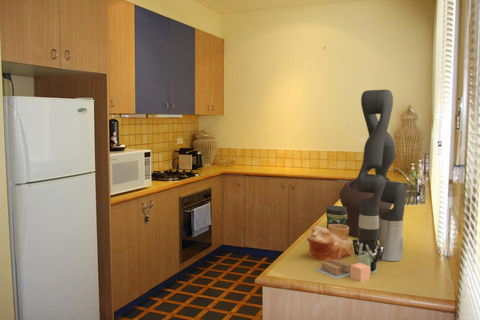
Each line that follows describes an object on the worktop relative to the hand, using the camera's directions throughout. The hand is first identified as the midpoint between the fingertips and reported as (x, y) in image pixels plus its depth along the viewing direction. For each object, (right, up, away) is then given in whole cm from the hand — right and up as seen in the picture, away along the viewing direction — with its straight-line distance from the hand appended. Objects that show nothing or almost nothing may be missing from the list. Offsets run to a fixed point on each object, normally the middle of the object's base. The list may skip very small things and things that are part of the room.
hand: (367, 268), depth 177 cm
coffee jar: (-4, +2, +39) cm, 40 cm away
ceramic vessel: (-11, 0, +19) cm, 22 cm away
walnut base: (-12, -1, -1) cm, 12 cm away
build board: (-12, -2, -1) cm, 12 cm away
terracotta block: (-5, -3, -8) cm, 9 cm away
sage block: (0, -1, 0) cm, 1 cm away
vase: (+15, +4, +58) cm, 60 cm away
